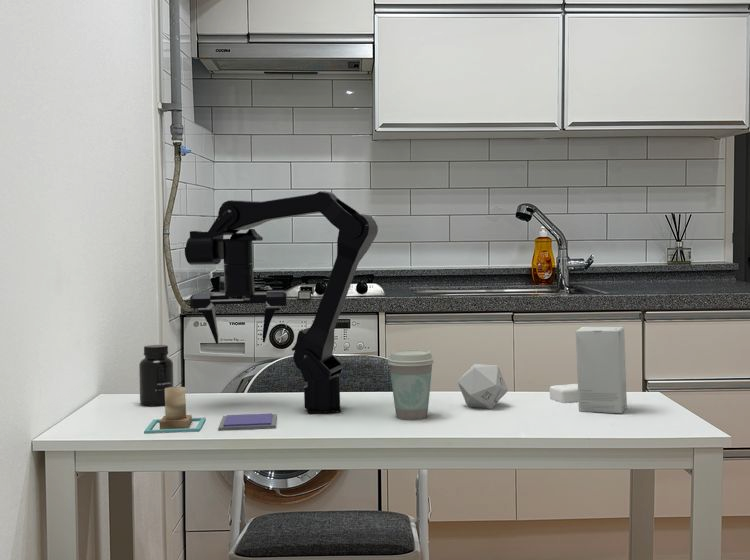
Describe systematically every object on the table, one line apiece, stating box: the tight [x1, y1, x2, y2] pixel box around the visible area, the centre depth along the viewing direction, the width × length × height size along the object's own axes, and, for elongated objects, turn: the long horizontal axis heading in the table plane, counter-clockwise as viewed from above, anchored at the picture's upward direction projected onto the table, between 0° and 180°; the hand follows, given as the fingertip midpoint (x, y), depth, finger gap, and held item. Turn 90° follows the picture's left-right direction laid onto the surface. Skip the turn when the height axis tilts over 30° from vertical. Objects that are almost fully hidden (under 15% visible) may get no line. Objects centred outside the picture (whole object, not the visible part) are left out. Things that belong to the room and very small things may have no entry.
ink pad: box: [217, 412, 278, 431], centre depth 153 cm, size 10×10×1 cm
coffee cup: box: [387, 349, 435, 421], centre depth 155 cm, size 9×8×12 cm
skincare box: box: [575, 326, 628, 414], centre depth 157 cm, size 8×7×16 cm
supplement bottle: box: [138, 344, 175, 406], centre depth 173 cm, size 7×7×12 cm
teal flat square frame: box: [143, 417, 207, 434], centre depth 151 cm, size 10×10×1 cm
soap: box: [549, 383, 578, 404], centre depth 169 cm, size 9×6×3 cm, turn 108°
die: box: [456, 363, 509, 410], centre depth 164 cm, size 8×9×10 cm
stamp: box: [159, 386, 193, 430], centre depth 151 cm, size 5×5×7 cm
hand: (240, 342), depth 167 cm, fingers open, 9 cm apart
